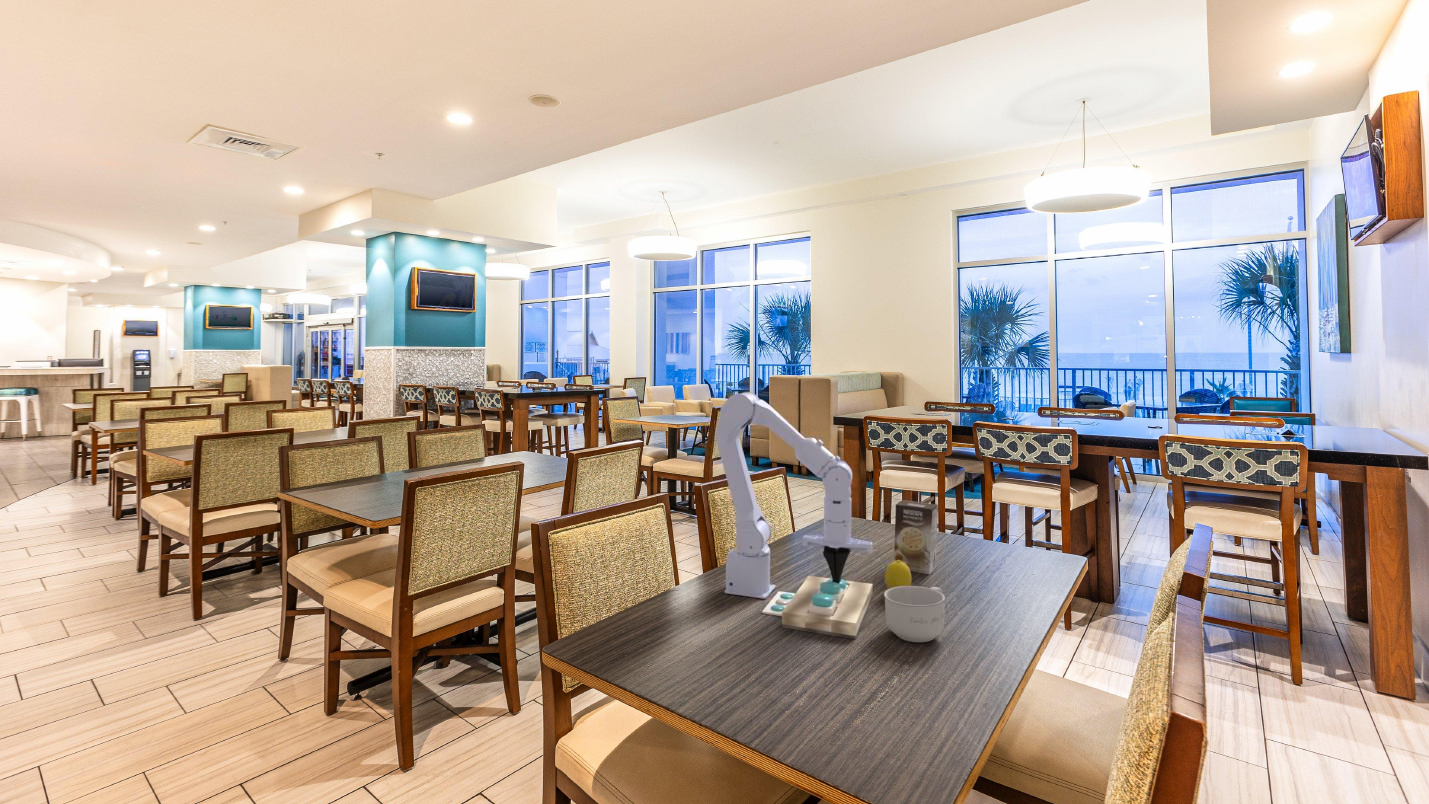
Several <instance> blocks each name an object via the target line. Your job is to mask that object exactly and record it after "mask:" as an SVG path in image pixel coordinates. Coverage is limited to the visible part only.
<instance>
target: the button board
mask: <svg viewBox="0 0 1429 804" xmlns="http://www.w3.org/2000/svg"><path fill="white" fill-rule="evenodd" d="M806 577H807V578H806V579H805V580H804V582H803V583H802V585H801V586H800V587H799V588H798V589H797V591H796V592H795V595H794V596H793V598H792V599H791V600H790V602H789V603H788V604H787V606H786V607H785V609H784V610H783V611H782V616H781V627H782V628H784V629H791V630H796V631H797V630H798V631H802V632H803V631H804V632H808V633H809V632H810V633H815V634H821V635H828V636H834V637H838V638H840V637H841V638H845V639H852V640H856V639H857V637H858V634H859V632H860V629H861V628H862V627H861V626H862V624H863V623H864V622H863V621H864V619H865V616H866V614H867V612H868V609H869V607H870V604H871V601H872V600H873V589H874V588H873V585H874V584H873V583H868V582H859V581H853V580H852V581H851V580H845V581H846V585H849V587H848V589H847V591H843V598H842V600H841V602H840V603H836V612H835V614H834V616H826V615H820V614H813V613H809V605H810V603H811V602H812V596H813V595H814V594H817V592H818V591H819V589H820V584H821V583H822V582H827V580H828V579H831V578H830V577H829V578H827V577H821V576H812V575H808V576H806Z"/></svg>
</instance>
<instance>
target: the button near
mask: <svg viewBox="0 0 1429 804" xmlns="http://www.w3.org/2000/svg"><path fill="white" fill-rule="evenodd" d="M835 612H836V601H835V600H833V596H831V595H829V594H825V593H818V594H814V595H813V596H812V602H811V603H810V605H809V613H813V614H820V615H826V616H834V614H835Z"/></svg>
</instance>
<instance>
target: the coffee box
mask: <svg viewBox="0 0 1429 804" xmlns="http://www.w3.org/2000/svg"><path fill="white" fill-rule="evenodd" d="M938 509H939V505H938V504H936V503H935V504H934V503H929V502H923V501H913V500H907V499H901V500H899V501H898V502H897V503H896V504H895V516H894V517H895V518H894V520H895V521H894V543H893V544H894V550H893V552H894V553H893V562H894V561H897V560H900V561H901V562H903V563H905V564H906V565H907V566H908V567H909V569H910V572H914V573H920V574H925V575H931V573H933V572H934V570H935V569H936V568H937V567H936V566H937V565H936V563H937V559H936V558H937V542H938V541H937V539H938V538H937V537H938V535H937V533H938V513H939V512H938Z"/></svg>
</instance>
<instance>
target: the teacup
mask: <svg viewBox="0 0 1429 804" xmlns="http://www.w3.org/2000/svg"><path fill="white" fill-rule="evenodd" d="M883 597H884V605H885V607H884V608H885V612H884V613H885V620H886V623H887V626H888V628H889V629H890V631H891V632H892V633H893V634H895V635H896V636H897V637H898V638H899V639H901V640H903V641H906V642H911V643H926V642H927V643H928V642H930V641H932V640H934V639H936V637H937V636H939V635H940V634H941V633H942V632H943V630H944V628H945V617H946V616H945V614H946V613H945V611H946V610H945V601H946V597H945V595H944V593H943V590H942V589H941V588H940V587H938V586H932V587H930V588H929V587H925V586H920V585H919V586H917V585H911V586H899V587H894V588H890V589H888V588H887V589H886V590H885V591H884V593H883Z"/></svg>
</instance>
